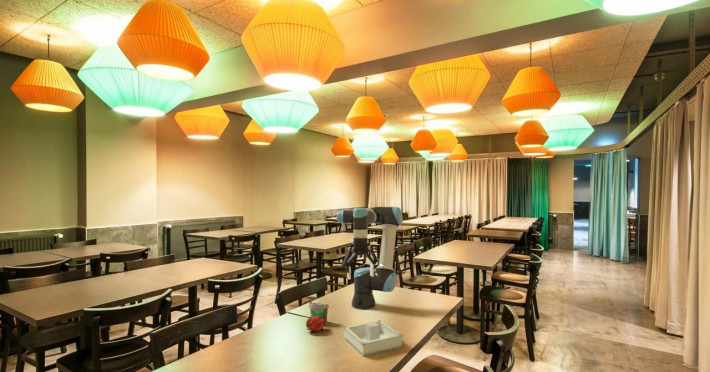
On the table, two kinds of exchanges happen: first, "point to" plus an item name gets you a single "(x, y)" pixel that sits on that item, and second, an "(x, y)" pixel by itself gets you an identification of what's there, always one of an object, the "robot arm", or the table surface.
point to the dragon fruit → (315, 323)
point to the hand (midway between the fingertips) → (360, 277)
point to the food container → (318, 310)
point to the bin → (384, 343)
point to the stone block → (372, 331)
